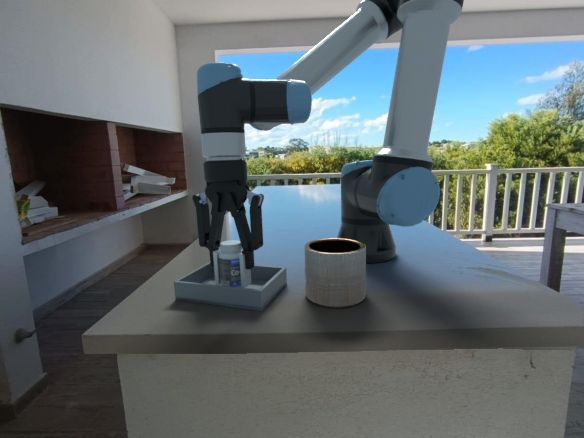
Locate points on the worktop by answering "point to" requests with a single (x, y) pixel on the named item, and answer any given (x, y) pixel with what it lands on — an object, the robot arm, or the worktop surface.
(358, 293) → the planter
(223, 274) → the pill bottle
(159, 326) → the worktop surface
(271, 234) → the worktop surface
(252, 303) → the grey tray
